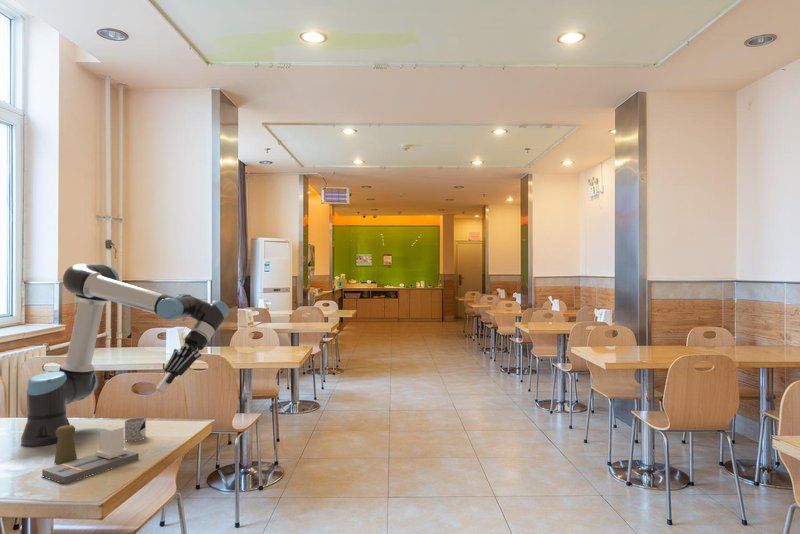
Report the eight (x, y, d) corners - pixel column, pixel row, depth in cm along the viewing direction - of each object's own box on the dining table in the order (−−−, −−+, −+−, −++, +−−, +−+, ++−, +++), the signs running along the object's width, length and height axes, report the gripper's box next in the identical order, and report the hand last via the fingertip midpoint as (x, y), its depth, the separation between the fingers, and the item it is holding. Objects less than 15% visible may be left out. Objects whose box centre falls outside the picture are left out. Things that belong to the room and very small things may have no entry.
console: (116, 453, 168) (116, 447, 169) (138, 459, 162) (138, 452, 163) (42, 476, 149) (42, 469, 149) (64, 484, 143) (64, 476, 143)
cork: (81, 458, 164) (81, 424, 165) (63, 465, 159) (63, 429, 159) (67, 456, 166) (67, 422, 167) (49, 463, 161) (49, 427, 161)
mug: (144, 440, 183) (144, 421, 183) (123, 442, 181) (123, 423, 181) (147, 432, 193) (147, 414, 193) (127, 434, 190) (127, 416, 190)
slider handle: (114, 449, 166) (114, 424, 166) (127, 453, 162) (127, 426, 162) (95, 455, 160) (95, 428, 161) (108, 458, 157) (108, 431, 157)
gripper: (217, 343, 189) (178, 398, 174) (193, 342, 196) (154, 395, 181) (205, 330, 185) (164, 385, 170) (181, 329, 191) (140, 382, 177)
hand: (159, 390), depth 175 cm, fingers closed
